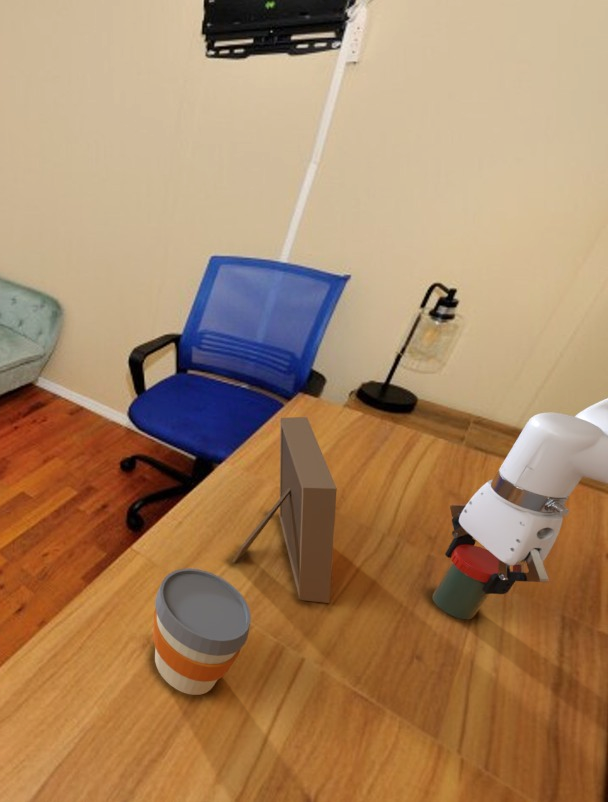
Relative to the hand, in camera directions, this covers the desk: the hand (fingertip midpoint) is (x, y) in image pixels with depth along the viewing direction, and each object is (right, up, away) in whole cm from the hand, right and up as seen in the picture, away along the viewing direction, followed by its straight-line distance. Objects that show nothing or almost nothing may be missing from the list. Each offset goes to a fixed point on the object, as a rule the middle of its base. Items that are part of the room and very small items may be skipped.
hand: (473, 573), depth 84 cm
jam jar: (0, -7, +4) cm, 8 cm away
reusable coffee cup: (-50, -13, -5) cm, 52 cm away
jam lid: (0, +2, -1) cm, 3 cm away
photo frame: (-25, -2, +15) cm, 29 cm away
